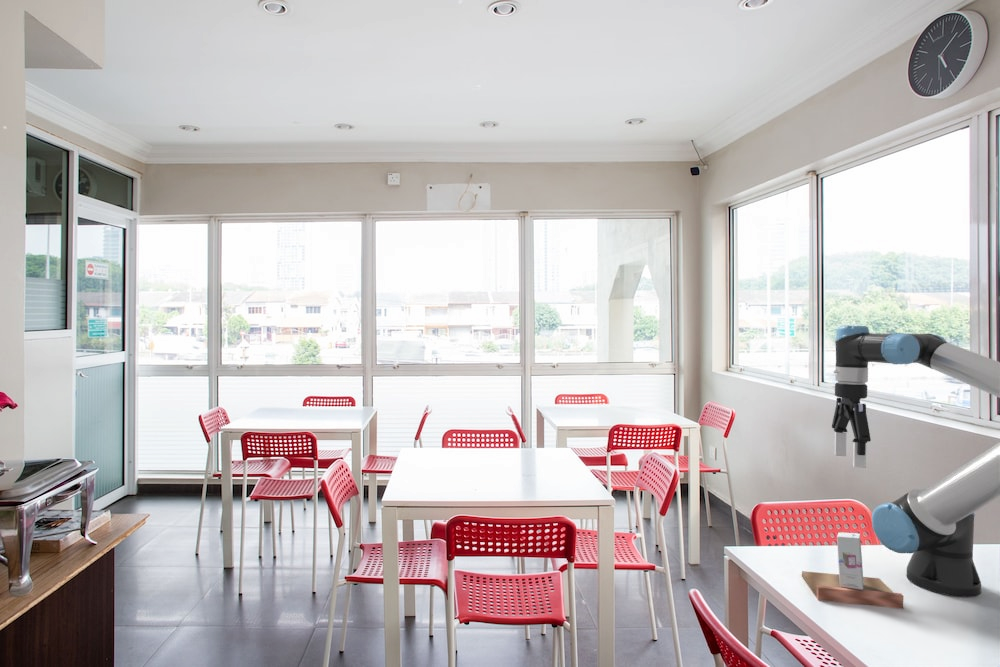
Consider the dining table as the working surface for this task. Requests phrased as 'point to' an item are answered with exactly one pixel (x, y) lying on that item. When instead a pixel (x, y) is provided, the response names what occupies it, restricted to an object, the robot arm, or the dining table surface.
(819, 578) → the shelf board
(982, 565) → the dining table surface
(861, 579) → the ink box
